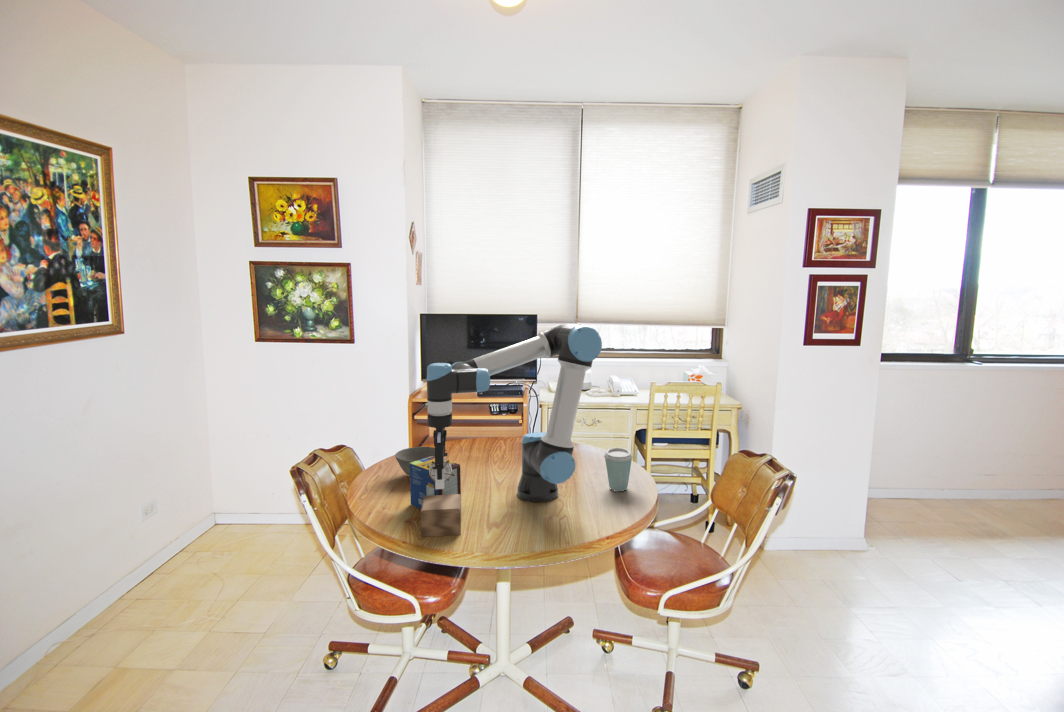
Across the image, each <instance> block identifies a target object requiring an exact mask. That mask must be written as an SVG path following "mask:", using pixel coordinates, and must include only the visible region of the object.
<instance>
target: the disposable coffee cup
mask: <svg viewBox="0 0 1064 712" xmlns="http://www.w3.org/2000/svg"><path fill="white" fill-rule="evenodd" d="M603 457H604V459H605V466H606V472H607V479H608V486H609V489H610V488H611V489H612V490H615V491H624V490H626V491H627V489H628V486H629V479H630V474H631V465H632V461H633V453H632V452H631V451H630V450H629V449H627V448H624V447H610V448H608V449H606V451H605V452H604V456H603ZM611 489H610V490H611ZM612 490H611V491H612ZM615 491H614V492H615ZM624 492H625V491H624Z"/></svg>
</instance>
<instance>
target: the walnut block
mask: <svg viewBox="0 0 1064 712" xmlns="http://www.w3.org/2000/svg"><path fill="white" fill-rule="evenodd" d="M461 532H462V493H461V494H451V495H430V496H424V498H423V503H422V508H421V509H420V537H421V538H423V537H440V536H441V537H443V536H457V535H462V533H461Z"/></svg>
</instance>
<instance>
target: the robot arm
mask: <svg viewBox="0 0 1064 712" xmlns="http://www.w3.org/2000/svg"><path fill="white" fill-rule="evenodd" d="M602 348H603V341H602V338H601V335H600V334H599V331H597V330H596V329H595V328H594V327H592V326H590V325H589V326H588V325H586V324H580V323H578V324H577V323H572V322H571V323H568V322H567V323H562V324H558V325H557V326H554V327H551V328H548V329H547V330H544V331H541V332H538V333H537V336H534V337H531V338H529V339H527V340H523V341H520V342H517V343H514V344H512V345H509V346H505V347H503V348H500V349H497V350H495V351H491V352H488V353H486V354H483V355H481V356H477V357H475V358H471V359H468V360H466V361H457V362H454V363H452V364H450V363H448V362H434V363H430V364H428V366H427V367H426V379H425V380H426V396H427V397H426V400H427V401H426V402H425V403H424V405H425V406H426V407H427V413H428V414H426V415H427V426H428V427H429V428H432V429H433V428H434V429H435V430H433V433H432V434H433V435H432V437H433V446H434V448H435V467H433V469H435V489H444V460H445V461H446V460H447V459H446V458H447V457H448V454H449V453H448V452H446V451H447V449H446V442H447V434H448V433H447V432H448V431H447V429H446V428H448V427H450V426H452V425H453V414H452V412H453V397H452V396H453V394H465V393H469V394H470V393H480V392H481V393H483V392H486V391H488V390H489V389H490V385H491V376H493V375H496V374H500V373H502V372H505V371H509V370H510V369H513V368H515V367H518V366H521V365H524V364H526V363H529V362H532V361H536V360H537V359H538V360H539V359H541V358H543V357H544V358H546V359H548V358H552V357H555V356H558V358H557V362H558V363H559V364H560V370H559V375H558V379H557V383H556V388H555V392H554V397H553V402H552V407H551V411H550V415H549V421H548V425H547V428H546V432H545V431H544V432H542V431H541V432H539V431H538V432H530V433H526V434H523V436H522V441H521V476H520V478H519V483H518V485H517V490H516V492H517V493H516V494H517V496H518V497H519V498H520V499H521V500H524V501H527V502H533V503H545V502H550V501H552V500H555V499H556V498H557V497H558V495H559V488H558V485H559V484H560V485H561V484H564V483H565V482H566V481H568V480H570V479H571V477H572V476H573V475H574V473H575V470H576V461H575V457H574V456H573V451H574V448H575V444H574V443H573V441H572V435H573V431H574V426H575V421H576V418H577V413H578V410H579V409H578V408H579V403H580V398H581V394H582V389H583V385H584V381H585V376H586V372H587V371H588V370H590V369H591V368H592V365H593V361H594V360H595V359H596V358H597V357H599V355H600V354H601V352H602Z"/></svg>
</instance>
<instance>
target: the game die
mask: <svg viewBox="0 0 1064 712" xmlns="http://www.w3.org/2000/svg"><path fill="white" fill-rule="evenodd" d="M449 461H450V459H448V460H447V461H445V460H444V482H445V481H446V480H448V481H449V479H448V478H450V477H451V476H452V475H453V476H455V475H454V474H452V466H453V464H452V465H450V464H449ZM432 463H433V464H432V465H431V466H430V467H429V466H427V468H429V476H428V477H427V478H429V477H430V478H431V479H433V480H432V482H434V481H435V469H433V467H435V462H433V461H432Z"/></svg>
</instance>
